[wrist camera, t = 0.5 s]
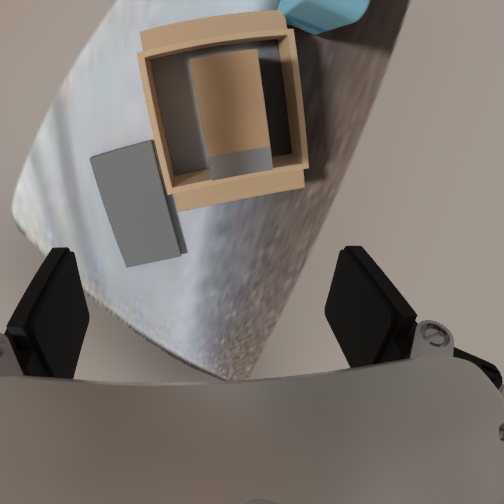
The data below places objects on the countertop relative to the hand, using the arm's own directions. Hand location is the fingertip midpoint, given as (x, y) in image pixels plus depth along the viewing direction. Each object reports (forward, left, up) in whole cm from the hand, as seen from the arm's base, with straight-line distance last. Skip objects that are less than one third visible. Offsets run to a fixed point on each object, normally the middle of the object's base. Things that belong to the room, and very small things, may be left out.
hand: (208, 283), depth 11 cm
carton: (-3, -3, -25) cm, 25 cm away
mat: (+8, +6, -25) cm, 27 cm away
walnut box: (-3, -3, -25) cm, 25 cm away
